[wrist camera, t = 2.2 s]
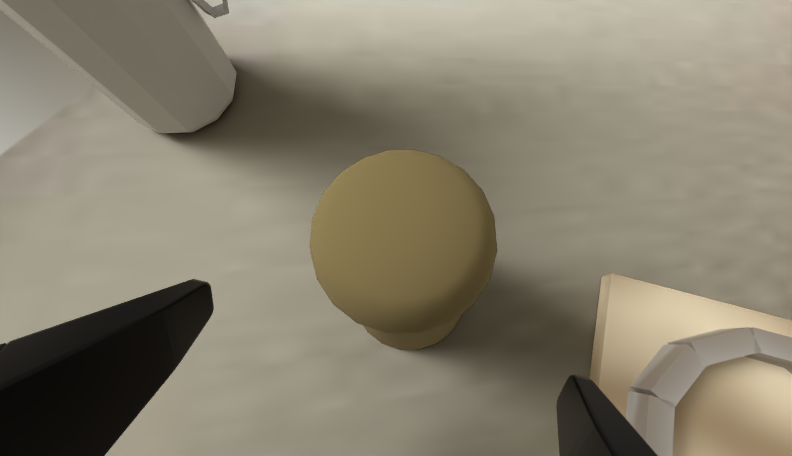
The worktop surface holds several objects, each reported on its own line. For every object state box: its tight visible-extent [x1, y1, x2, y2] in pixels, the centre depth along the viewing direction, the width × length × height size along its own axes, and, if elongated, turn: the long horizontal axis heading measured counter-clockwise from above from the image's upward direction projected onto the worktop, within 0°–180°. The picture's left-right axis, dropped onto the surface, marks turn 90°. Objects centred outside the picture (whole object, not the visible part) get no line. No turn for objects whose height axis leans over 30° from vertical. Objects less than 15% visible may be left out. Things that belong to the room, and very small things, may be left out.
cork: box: [310, 150, 497, 350], centre depth 14 cm, size 6×6×11 cm
